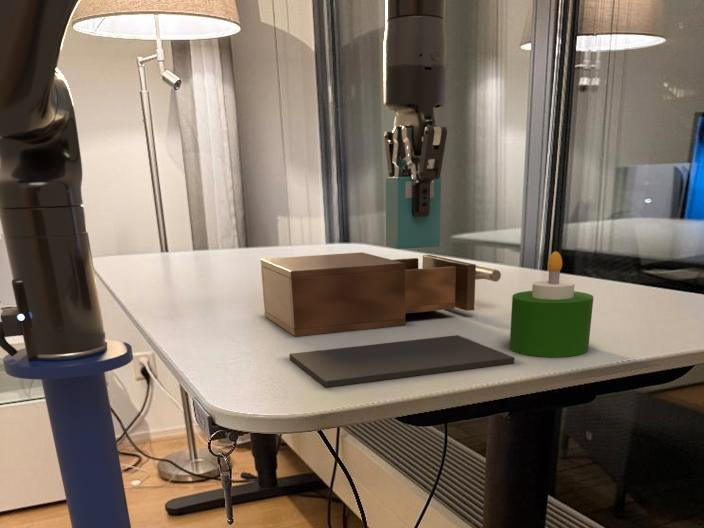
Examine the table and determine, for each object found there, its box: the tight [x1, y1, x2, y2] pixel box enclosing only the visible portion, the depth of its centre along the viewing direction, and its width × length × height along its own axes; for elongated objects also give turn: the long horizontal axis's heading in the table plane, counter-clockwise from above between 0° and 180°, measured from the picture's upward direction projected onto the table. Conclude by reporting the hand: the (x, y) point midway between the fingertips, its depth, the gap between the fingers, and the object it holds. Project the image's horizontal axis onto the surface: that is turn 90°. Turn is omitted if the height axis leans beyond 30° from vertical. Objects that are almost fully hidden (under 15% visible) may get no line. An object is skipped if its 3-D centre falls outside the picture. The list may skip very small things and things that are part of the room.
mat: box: [289, 334, 515, 388], centre depth 74 cm, size 20×12×1 cm, turn 111°
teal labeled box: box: [385, 175, 442, 250], centre depth 94 cm, size 6×4×8 cm
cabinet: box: [260, 252, 406, 337], centre depth 94 cm, size 15×15×8 cm
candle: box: [509, 250, 594, 358], centre depth 76 cm, size 8×8×10 cm
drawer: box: [393, 254, 502, 314], centre depth 98 cm, size 19×13×6 cm
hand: (412, 215), depth 94 cm, fingers closed on teal labeled box, 4 cm apart
